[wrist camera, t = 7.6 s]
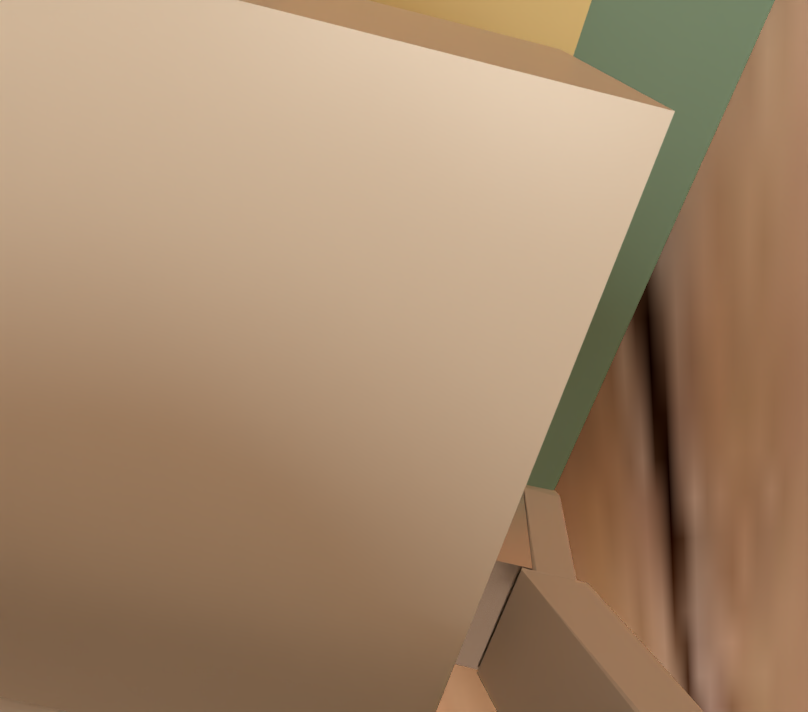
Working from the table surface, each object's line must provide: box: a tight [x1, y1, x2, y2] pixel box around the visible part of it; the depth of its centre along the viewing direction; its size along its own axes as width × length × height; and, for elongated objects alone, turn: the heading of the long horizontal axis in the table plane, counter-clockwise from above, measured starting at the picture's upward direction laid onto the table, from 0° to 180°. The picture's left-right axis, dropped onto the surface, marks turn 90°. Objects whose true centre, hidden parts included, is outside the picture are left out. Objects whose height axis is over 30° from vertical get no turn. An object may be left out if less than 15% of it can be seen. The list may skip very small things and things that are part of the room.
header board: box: [370, 0, 775, 490], centre depth 17 cm, size 14×16×5 cm
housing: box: [0, 0, 675, 712], centre depth 8 cm, size 5×11×5 cm, turn 167°
